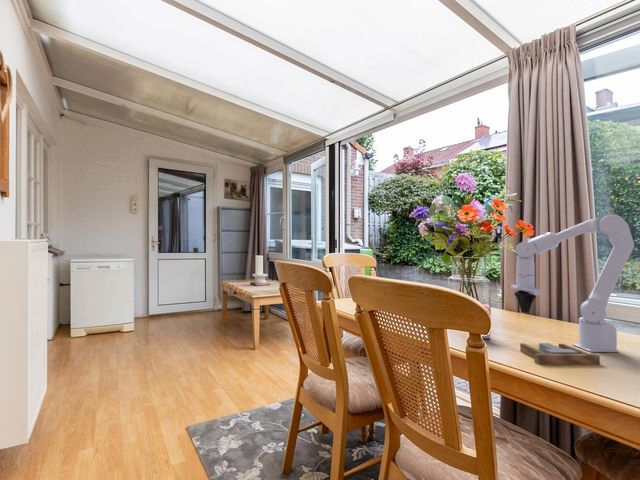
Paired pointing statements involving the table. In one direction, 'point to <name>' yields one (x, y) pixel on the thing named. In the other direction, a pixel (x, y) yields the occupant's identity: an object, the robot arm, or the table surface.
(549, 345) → the t block
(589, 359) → the walnut bay
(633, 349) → the table surface
